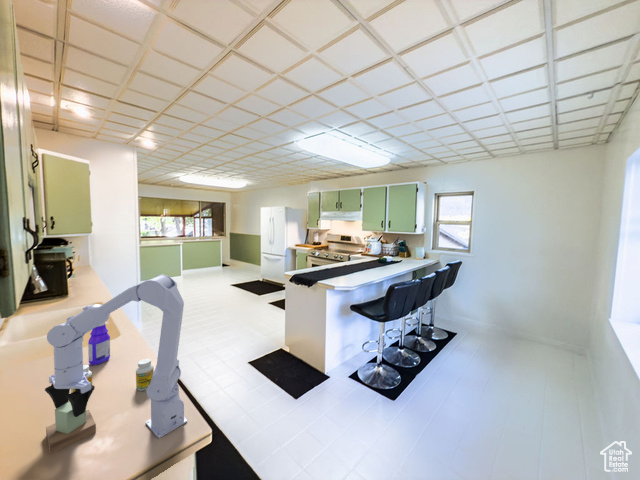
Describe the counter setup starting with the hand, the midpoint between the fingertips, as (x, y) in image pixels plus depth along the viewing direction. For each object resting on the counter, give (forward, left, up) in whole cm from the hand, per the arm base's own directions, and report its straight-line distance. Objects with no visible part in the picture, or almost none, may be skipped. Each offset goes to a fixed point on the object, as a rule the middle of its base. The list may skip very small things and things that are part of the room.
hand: (70, 411), depth 72 cm
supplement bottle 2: (+8, -21, -7) cm, 23 cm away
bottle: (+43, -16, -7) cm, 46 cm away
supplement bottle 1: (+20, -6, -7) cm, 22 cm away
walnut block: (0, 0, -7) cm, 7 cm away
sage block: (0, 0, -4) cm, 4 cm away
